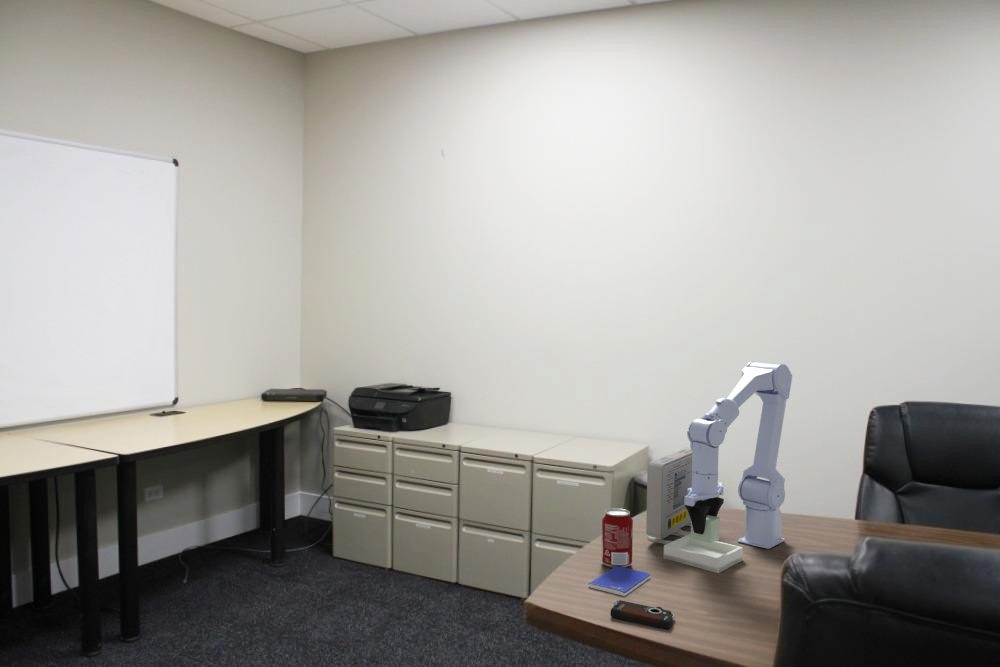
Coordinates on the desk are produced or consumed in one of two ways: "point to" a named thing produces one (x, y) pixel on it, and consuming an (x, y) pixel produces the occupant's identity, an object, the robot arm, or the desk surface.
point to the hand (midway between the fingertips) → (703, 531)
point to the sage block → (708, 530)
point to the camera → (642, 614)
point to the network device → (668, 495)
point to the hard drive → (619, 580)
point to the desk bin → (703, 554)
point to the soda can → (617, 538)
